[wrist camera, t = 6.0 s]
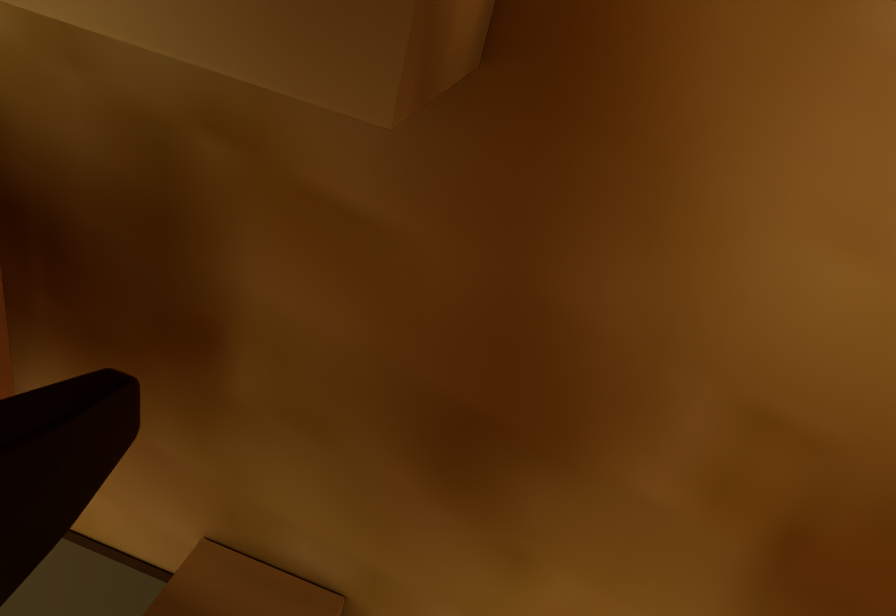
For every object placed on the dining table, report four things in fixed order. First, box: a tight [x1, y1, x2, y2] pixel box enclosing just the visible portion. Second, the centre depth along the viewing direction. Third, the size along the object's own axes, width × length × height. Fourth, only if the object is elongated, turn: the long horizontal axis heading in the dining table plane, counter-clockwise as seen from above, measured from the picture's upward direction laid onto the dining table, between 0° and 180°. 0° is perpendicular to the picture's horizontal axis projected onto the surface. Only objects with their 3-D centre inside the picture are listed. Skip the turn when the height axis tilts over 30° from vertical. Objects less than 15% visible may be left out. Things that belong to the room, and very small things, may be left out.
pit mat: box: [0, 531, 173, 616], centre depth 16 cm, size 4×7×1 cm, turn 76°
